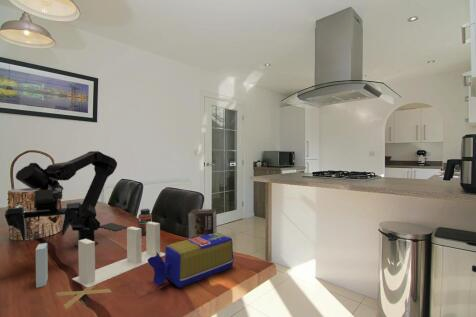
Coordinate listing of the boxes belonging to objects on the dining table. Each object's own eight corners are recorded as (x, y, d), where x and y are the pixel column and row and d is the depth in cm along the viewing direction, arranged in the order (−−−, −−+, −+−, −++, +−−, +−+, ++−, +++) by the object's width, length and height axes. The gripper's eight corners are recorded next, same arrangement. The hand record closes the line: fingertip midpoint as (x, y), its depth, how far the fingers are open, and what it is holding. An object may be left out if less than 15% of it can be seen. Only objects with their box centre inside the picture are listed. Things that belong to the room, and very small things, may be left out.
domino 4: (155, 256, 87) (155, 224, 87) (146, 253, 90) (146, 222, 90) (160, 254, 89) (159, 223, 89) (151, 251, 92) (150, 221, 92)
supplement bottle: (139, 236, 112) (138, 211, 112) (137, 233, 117) (137, 208, 117) (153, 234, 114) (152, 209, 114) (151, 231, 120) (150, 207, 120)
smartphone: (115, 230, 120) (97, 226, 127) (115, 232, 120) (97, 227, 127) (129, 227, 126) (111, 222, 134) (129, 228, 126) (111, 224, 134)
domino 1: (36, 290, 67) (35, 249, 67) (39, 282, 71) (38, 244, 71) (45, 288, 68) (45, 248, 68) (47, 280, 72) (47, 242, 72)
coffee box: (217, 252, 92) (217, 208, 92) (214, 259, 86) (213, 212, 86) (193, 251, 93) (193, 208, 93) (188, 258, 87) (188, 212, 87)
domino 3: (136, 264, 81) (135, 230, 81) (127, 260, 84) (126, 227, 84) (141, 261, 83) (141, 228, 83) (132, 258, 85) (132, 226, 85)
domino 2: (87, 283, 68) (87, 243, 68) (78, 279, 71) (78, 240, 71) (95, 280, 70) (94, 241, 70) (86, 276, 73) (85, 238, 73)
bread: (237, 268, 79) (236, 236, 79) (162, 297, 63) (162, 257, 63) (218, 258, 87) (217, 229, 87) (147, 282, 71) (147, 246, 71)
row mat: (71, 281, 71) (71, 278, 71) (151, 251, 94) (150, 249, 94) (87, 290, 66) (87, 287, 66) (167, 256, 89) (167, 254, 89)
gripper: (6, 181, 74) (-6, 227, 64) (80, 178, 83) (80, 217, 74) (13, 204, 80) (3, 248, 71) (81, 198, 90) (81, 237, 81)
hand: (43, 237), depth 74 cm, fingers open, 9 cm apart
